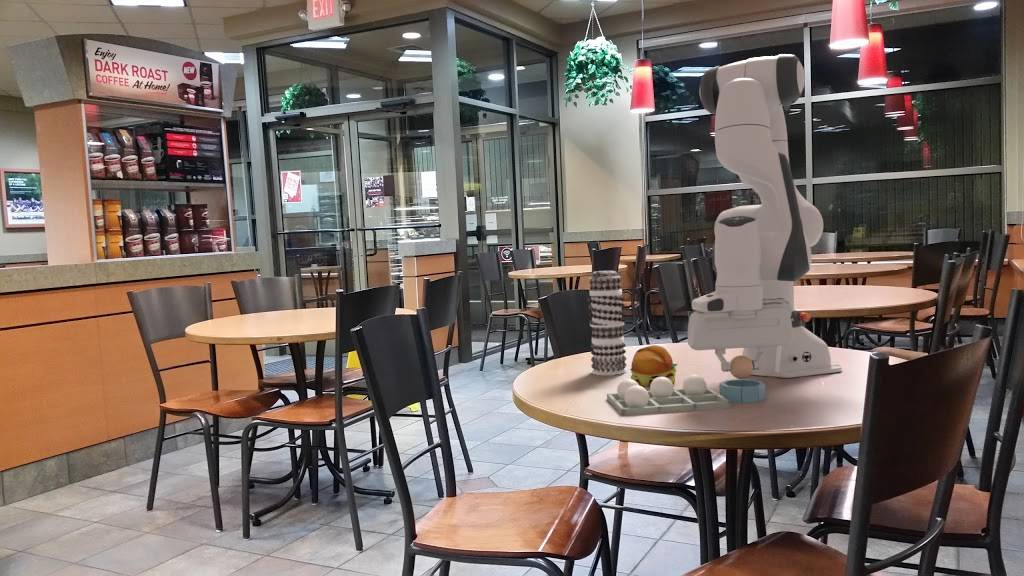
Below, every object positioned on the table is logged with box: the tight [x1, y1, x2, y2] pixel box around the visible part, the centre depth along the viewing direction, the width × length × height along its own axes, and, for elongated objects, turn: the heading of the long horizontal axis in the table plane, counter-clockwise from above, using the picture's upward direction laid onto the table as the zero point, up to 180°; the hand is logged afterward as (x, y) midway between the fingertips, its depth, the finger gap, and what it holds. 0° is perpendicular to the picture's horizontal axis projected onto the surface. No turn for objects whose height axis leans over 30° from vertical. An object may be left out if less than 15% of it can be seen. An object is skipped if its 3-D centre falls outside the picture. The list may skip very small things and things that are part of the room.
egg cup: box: [719, 378, 766, 404], centre depth 150 cm, size 8×8×4 cm
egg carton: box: [606, 373, 733, 416], centre depth 148 cm, size 21×14×5 cm
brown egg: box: [729, 354, 754, 379], centre depth 149 cm, size 5×5×5 cm
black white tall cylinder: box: [586, 270, 628, 376], centre depth 187 cm, size 9×9×25 cm
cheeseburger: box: [629, 344, 678, 388], centre depth 168 cm, size 10×11×10 cm
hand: (741, 370), depth 149 cm, fingers closed on brown egg, 5 cm apart
